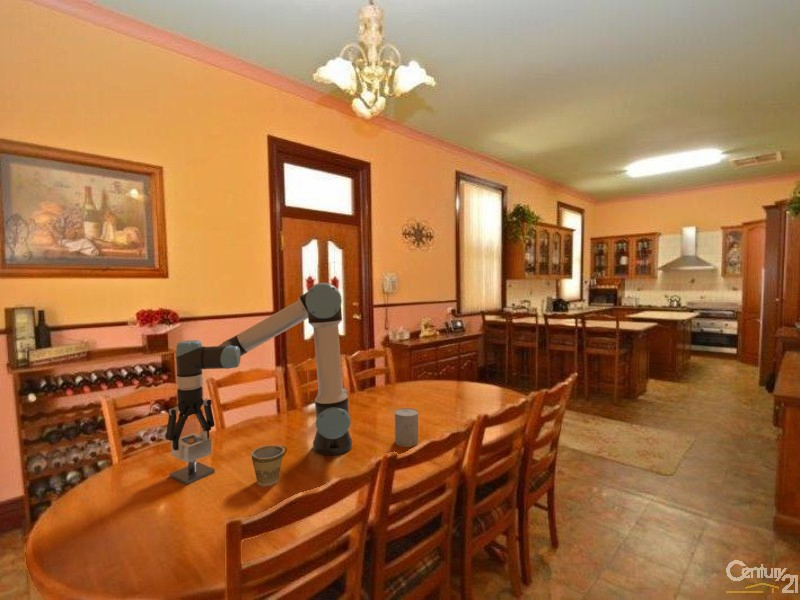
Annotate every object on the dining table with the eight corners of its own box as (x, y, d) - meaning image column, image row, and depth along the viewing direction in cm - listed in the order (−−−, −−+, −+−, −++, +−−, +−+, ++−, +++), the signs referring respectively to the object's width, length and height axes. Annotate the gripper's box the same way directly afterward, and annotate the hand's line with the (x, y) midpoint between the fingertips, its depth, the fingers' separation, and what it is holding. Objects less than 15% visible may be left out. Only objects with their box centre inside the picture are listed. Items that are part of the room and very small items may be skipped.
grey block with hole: (211, 453, 135) (211, 439, 135) (188, 462, 129) (187, 447, 128) (194, 446, 141) (194, 432, 140) (171, 455, 134) (171, 440, 134)
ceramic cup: (266, 492, 124) (265, 461, 123) (245, 483, 129) (244, 453, 128) (297, 475, 135) (297, 446, 134) (277, 467, 140) (276, 439, 139)
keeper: (214, 472, 137) (214, 437, 136) (185, 484, 128) (184, 448, 127) (198, 464, 142) (197, 431, 141) (169, 476, 134) (168, 441, 133)
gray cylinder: (421, 439, 164) (422, 410, 164) (412, 448, 156) (412, 417, 155) (400, 435, 168) (400, 407, 168) (390, 444, 160) (390, 414, 159)
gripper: (212, 378, 144) (214, 440, 145) (151, 392, 127) (153, 462, 128) (225, 381, 140) (226, 445, 141) (163, 396, 123) (165, 469, 124)
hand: (191, 453), depth 135 cm, fingers closed on grey block with hole, 8 cm apart
